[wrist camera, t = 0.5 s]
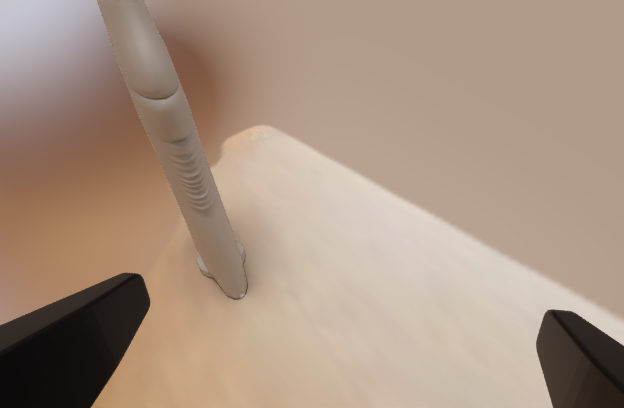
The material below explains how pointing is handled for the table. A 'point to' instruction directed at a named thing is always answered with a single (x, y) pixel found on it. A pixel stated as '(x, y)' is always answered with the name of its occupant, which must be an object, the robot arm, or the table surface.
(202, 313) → the table surface
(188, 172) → the tall pale column
